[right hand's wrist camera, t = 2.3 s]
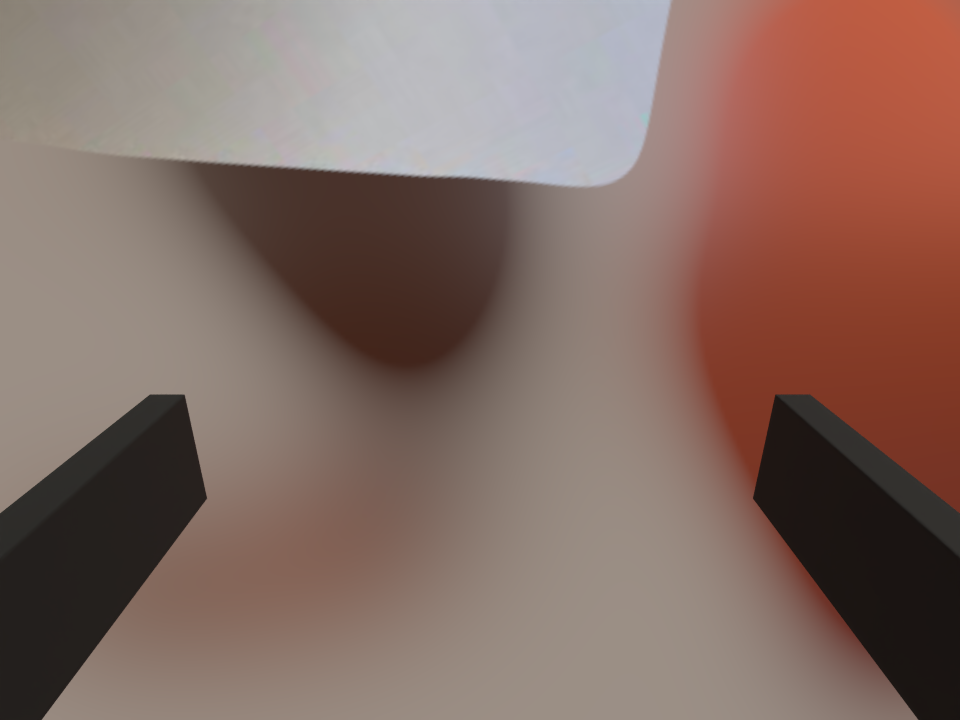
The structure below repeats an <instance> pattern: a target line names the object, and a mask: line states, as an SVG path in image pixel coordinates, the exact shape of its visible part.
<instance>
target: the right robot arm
mask: <svg viewBox="0 0 960 720" xmlns="http://www.w3.org/2000/svg"><path fill="white" fill-rule="evenodd" d="M206 499H207V496H206V492H205V487H204V482H203V478H202V473H201V469H200V464H199V460H198V455H197V450H196V445H195V441H194V436H193V431H192V427H191V422H190V418H189V413H188V408H187V404H186V399H185V395H149V396H148V397H146V398H145V399H144V400H143V401H141V402H140V403H139V404H138V405H136V406H135V407H134V408H133V409H131V410H130V411H129V412H128V413H126V414H125V415H124V416H123V417H121V418H120V419H119V420H117V421H116V422H115V423H114V424H112V425H111V426H110V427H109V428H107V429H106V430H105V431H104V432H102V433H101V434H100V435H99V436H97V437H96V438H95V439H93V440H92V441H91V442H90V443H88V444H87V445H86V446H85V447H83V448H82V449H81V450H80V451H78V452H77V453H76V454H75V455H73V456H72V457H71V458H70V459H68V460H67V461H66V462H64V463H63V464H62V465H61V466H59V467H58V468H57V469H56V470H54V471H53V472H52V473H51V474H49V475H48V476H47V477H46V478H44V479H43V480H42V481H41V482H39V483H38V484H37V485H35V486H34V487H33V488H32V489H31V490H29V491H28V492H27V493H25V494H24V495H23V496H22V497H20V498H19V499H18V500H17V501H15V502H14V503H13V504H12V505H10V506H9V507H8V508H6V509H5V510H4V511H3V512H1V513H0V720H42V719H43V717H44V716H45V714H46V713H47V712H48V711H49V709H50V708H51V706H52V705H53V704H54V702H55V701H56V700H57V698H58V697H59V696H60V694H61V693H62V692H63V690H64V689H65V688H66V686H67V685H68V684H69V682H70V681H71V680H72V678H73V677H74V676H75V674H76V673H77V672H78V670H79V669H80V668H81V666H82V665H83V664H84V662H85V661H86V660H87V658H88V657H89V656H90V654H91V653H92V652H93V650H94V649H95V648H96V646H97V645H98V644H99V642H100V641H101V640H102V638H103V637H104V636H105V634H106V633H107V632H108V630H109V629H110V628H111V626H112V625H113V623H114V622H115V621H116V619H117V618H118V617H119V615H120V614H121V613H122V611H123V610H124V609H125V607H126V606H127V605H128V603H129V602H130V601H131V599H132V598H133V597H134V595H135V594H136V593H137V591H138V590H139V589H140V587H141V586H142V585H143V583H144V582H145V581H146V579H147V578H148V577H149V575H150V574H151V573H152V571H153V570H154V568H155V567H156V566H157V565H158V563H159V562H160V561H161V559H162V558H163V556H164V555H165V554H166V553H167V551H168V550H169V549H170V547H171V546H172V545H173V543H174V542H175V541H176V539H177V538H178V536H179V535H180V534H181V532H182V531H183V530H184V528H185V527H186V526H187V524H188V523H189V522H190V520H191V519H192V518H193V516H194V515H195V514H196V512H197V511H198V510H199V508H200V507H201V506H202V504H203V503H204V502H205V500H206ZM753 499H754V500H755V502H756V503H757V504H758V506H759V507H760V508H761V510H762V511H763V512H764V514H765V515H766V516H767V518H768V519H769V520H770V522H771V523H772V524H773V526H774V527H775V528H776V530H777V531H778V532H779V534H780V535H781V536H782V538H783V539H784V540H785V542H786V543H787V545H788V546H789V547H790V549H791V550H792V551H793V553H794V554H795V555H796V557H797V558H798V559H799V561H800V562H801V563H802V565H803V566H804V567H805V569H806V570H807V571H808V573H809V574H810V575H811V577H812V578H813V579H814V581H815V582H816V583H817V585H818V586H819V587H820V589H821V590H822V591H823V593H824V594H825V595H826V597H827V598H828V599H829V601H830V602H831V603H832V605H833V606H834V607H835V609H836V610H837V611H838V613H839V614H840V615H841V617H842V618H843V619H844V621H845V622H846V623H847V625H848V626H849V627H850V629H851V630H852V631H853V633H854V634H855V636H856V637H857V638H858V639H859V641H860V642H861V643H862V645H863V646H864V648H865V649H866V650H867V652H868V653H869V654H870V656H871V657H872V658H873V660H874V661H875V662H876V664H877V665H878V666H879V668H880V669H881V670H882V672H883V673H884V674H885V676H886V677H887V678H888V680H889V681H890V682H891V684H892V685H893V686H894V688H895V689H896V690H897V692H898V693H899V694H900V696H901V697H902V698H903V700H904V701H905V702H906V704H907V705H908V706H909V708H910V709H911V710H912V712H913V713H914V714H915V716H916V717H917V719H918V720H960V513H959V512H957V511H956V510H955V509H953V508H952V507H951V506H950V505H948V504H947V503H946V502H945V501H943V500H942V499H941V498H940V497H938V496H937V495H936V494H935V493H933V492H932V491H931V490H930V489H928V488H927V487H926V486H925V485H923V484H922V483H921V482H919V481H918V480H917V479H916V478H914V477H913V476H912V475H911V474H909V473H908V472H907V471H906V470H904V469H903V468H902V467H901V466H899V465H898V464H897V463H896V462H894V461H893V460H892V459H890V458H889V457H888V456H887V455H885V454H884V453H883V452H882V451H880V450H879V449H878V448H877V447H875V446H874V445H873V444H872V443H870V442H869V441H868V440H867V439H865V438H864V437H863V436H861V435H860V434H859V433H858V432H856V431H855V430H854V429H853V428H851V427H850V426H849V425H848V424H846V423H845V422H844V421H843V420H841V419H840V418H839V417H837V416H836V415H835V414H834V413H832V412H831V411H830V410H829V409H827V408H826V407H825V406H824V405H822V404H821V403H820V402H819V401H817V400H816V399H815V398H814V397H812V396H811V395H775V399H774V404H773V408H772V413H771V418H770V422H769V427H768V431H767V436H766V441H765V445H764V450H763V455H762V459H761V464H760V469H759V473H758V478H757V482H756V487H755V492H754V496H753Z"/></svg>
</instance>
